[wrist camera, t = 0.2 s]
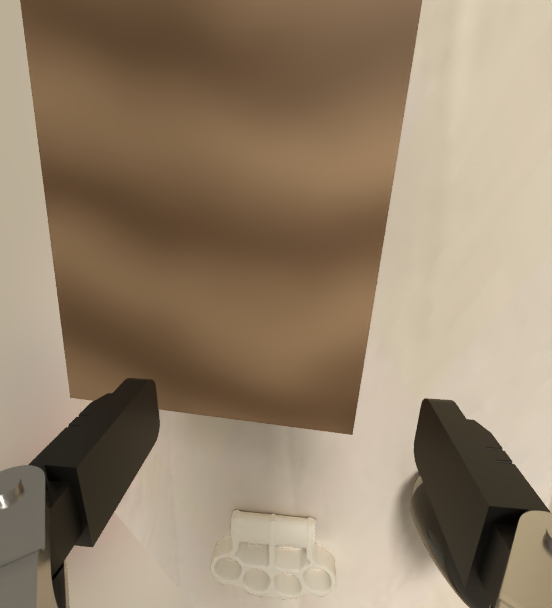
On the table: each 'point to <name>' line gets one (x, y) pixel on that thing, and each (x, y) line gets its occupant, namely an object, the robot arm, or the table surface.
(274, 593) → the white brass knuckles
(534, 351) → the table surface
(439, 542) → the black rounded cone
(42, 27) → the wooden stand
